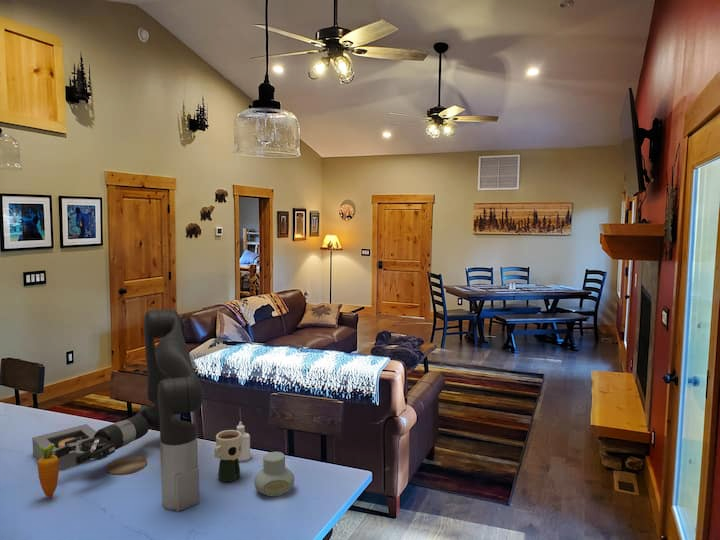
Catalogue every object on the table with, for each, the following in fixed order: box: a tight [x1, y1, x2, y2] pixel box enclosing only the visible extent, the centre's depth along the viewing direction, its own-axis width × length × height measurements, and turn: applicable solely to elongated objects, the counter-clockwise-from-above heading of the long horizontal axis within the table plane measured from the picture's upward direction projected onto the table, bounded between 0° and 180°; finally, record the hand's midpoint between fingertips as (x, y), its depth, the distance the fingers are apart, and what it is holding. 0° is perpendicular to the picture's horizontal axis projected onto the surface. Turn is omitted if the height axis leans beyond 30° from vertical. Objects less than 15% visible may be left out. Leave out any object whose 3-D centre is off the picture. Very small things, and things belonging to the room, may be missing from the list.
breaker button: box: [58, 438, 75, 448], centre depth 165 cm, size 6×6×2 cm
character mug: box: [214, 429, 243, 482], centre depth 151 cm, size 11×7×13 cm, turn 150°
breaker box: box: [31, 423, 108, 472], centre depth 165 cm, size 18×16×6 cm
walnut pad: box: [107, 455, 148, 476], centre depth 158 cm, size 11×11×1 cm
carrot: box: [37, 444, 60, 499], centre depth 139 cm, size 5×5×15 cm
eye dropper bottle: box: [236, 421, 251, 463], centre depth 163 cm, size 4×6×12 cm
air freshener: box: [253, 451, 295, 497], centre depth 144 cm, size 11×8×10 cm
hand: (66, 457), depth 144 cm, fingers open, 8 cm apart
